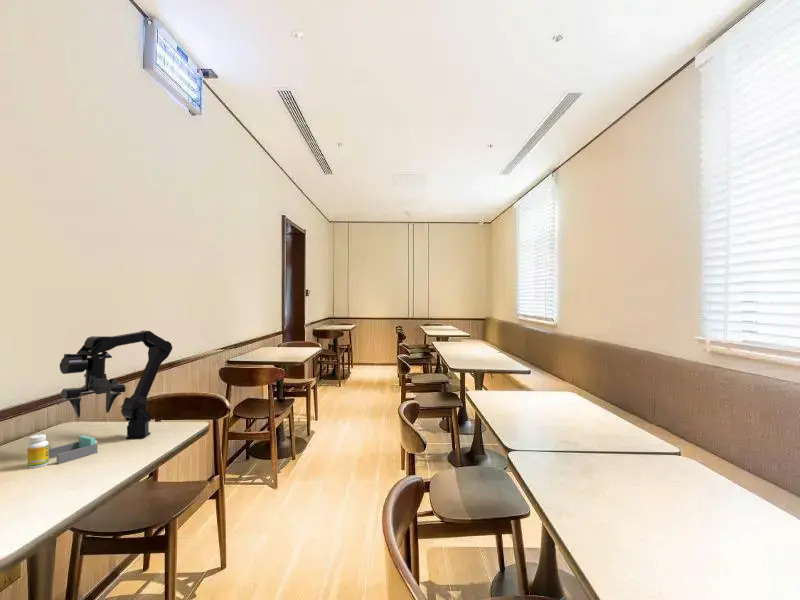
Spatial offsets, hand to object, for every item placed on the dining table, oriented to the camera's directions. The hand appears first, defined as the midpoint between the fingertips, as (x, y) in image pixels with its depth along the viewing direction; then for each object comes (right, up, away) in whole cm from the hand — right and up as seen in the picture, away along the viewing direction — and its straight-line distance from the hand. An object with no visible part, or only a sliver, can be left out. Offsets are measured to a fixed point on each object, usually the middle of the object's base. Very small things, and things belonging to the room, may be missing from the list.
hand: (93, 414), depth 159 cm
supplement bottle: (-7, -13, -15) cm, 21 cm away
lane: (-3, -13, -6) cm, 14 cm away
